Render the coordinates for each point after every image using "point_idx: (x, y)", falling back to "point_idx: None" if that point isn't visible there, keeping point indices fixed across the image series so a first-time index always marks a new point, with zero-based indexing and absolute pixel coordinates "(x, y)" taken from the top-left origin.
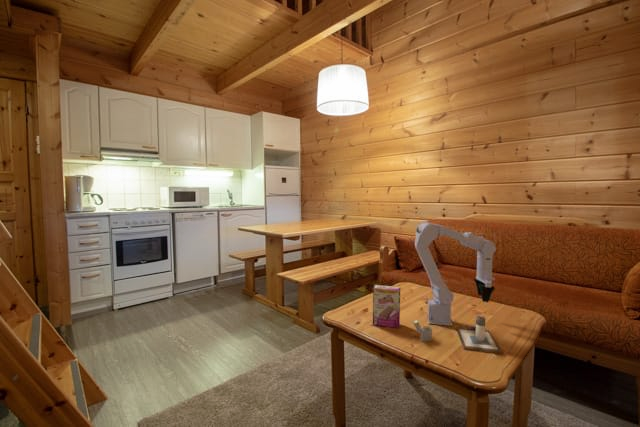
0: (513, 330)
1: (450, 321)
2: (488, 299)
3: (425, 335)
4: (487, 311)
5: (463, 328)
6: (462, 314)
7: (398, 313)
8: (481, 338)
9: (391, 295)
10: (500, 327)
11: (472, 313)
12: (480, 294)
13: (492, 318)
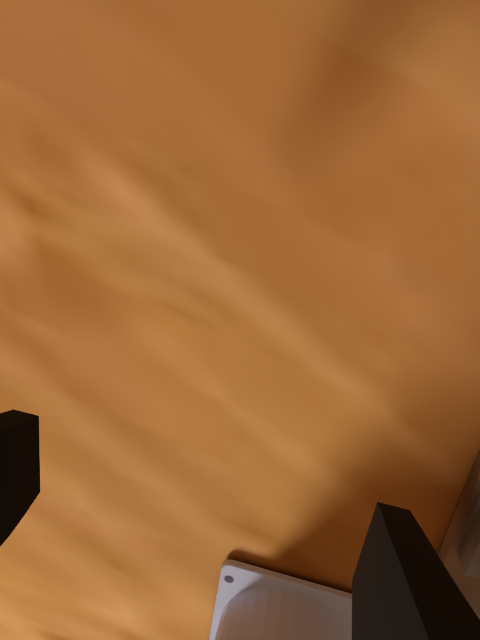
0: (474, 87)
1: (311, 598)
2: (436, 572)
3: None
4: (3, 165)
5: (454, 572)
6: (126, 430)
7: None
8: None
9: None
10: (392, 207)
11: (86, 337)
12: (26, 479)
13: (172, 191)
